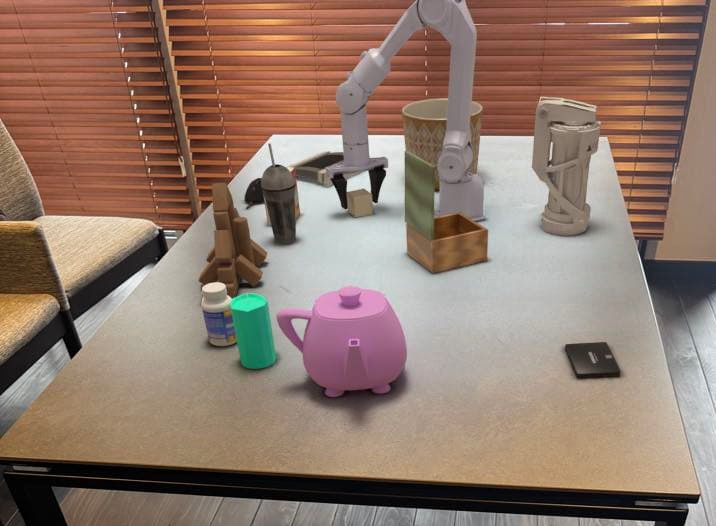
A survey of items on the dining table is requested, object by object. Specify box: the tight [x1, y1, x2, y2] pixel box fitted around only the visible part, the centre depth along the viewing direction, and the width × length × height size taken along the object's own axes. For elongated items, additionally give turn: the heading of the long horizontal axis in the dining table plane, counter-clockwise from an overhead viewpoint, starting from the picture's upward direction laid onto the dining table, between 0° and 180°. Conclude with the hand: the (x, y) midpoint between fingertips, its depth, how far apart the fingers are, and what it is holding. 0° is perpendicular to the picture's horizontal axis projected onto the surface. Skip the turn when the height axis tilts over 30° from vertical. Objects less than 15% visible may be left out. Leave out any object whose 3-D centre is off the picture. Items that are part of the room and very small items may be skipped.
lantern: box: [531, 96, 602, 236], centre depth 165 cm, size 13×10×25 cm
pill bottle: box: [200, 281, 237, 347], centre depth 136 cm, size 5×5×10 cm
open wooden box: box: [405, 212, 489, 274], centre depth 161 cm, size 13×12×6 cm
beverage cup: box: [261, 143, 297, 246], centre depth 166 cm, size 7×7×20 cm
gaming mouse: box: [244, 177, 265, 210], centre depth 193 cm, size 6×15×4 cm, turn 165°
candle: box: [230, 292, 277, 370], centre depth 130 cm, size 6×6×12 cm
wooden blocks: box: [198, 182, 268, 304], centre depth 154 cm, size 25×12×18 cm, turn 2°
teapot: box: [275, 285, 408, 398], centre depth 122 cm, size 20×20×15 cm
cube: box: [347, 188, 374, 219], centre depth 183 cm, size 4×4×4 cm
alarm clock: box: [287, 151, 364, 188], centre depth 206 cm, size 17×5×16 cm
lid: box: [404, 150, 436, 240], centre depth 153 cm, size 13×12×1 cm
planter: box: [401, 97, 484, 191], centre depth 194 cm, size 19×19×16 cm
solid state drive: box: [564, 341, 621, 379], centre depth 129 cm, size 7×10×1 cm
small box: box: [260, 166, 301, 226], centre depth 179 cm, size 8×6×10 cm
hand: (359, 205), depth 183 cm, fingers open, 7 cm apart
